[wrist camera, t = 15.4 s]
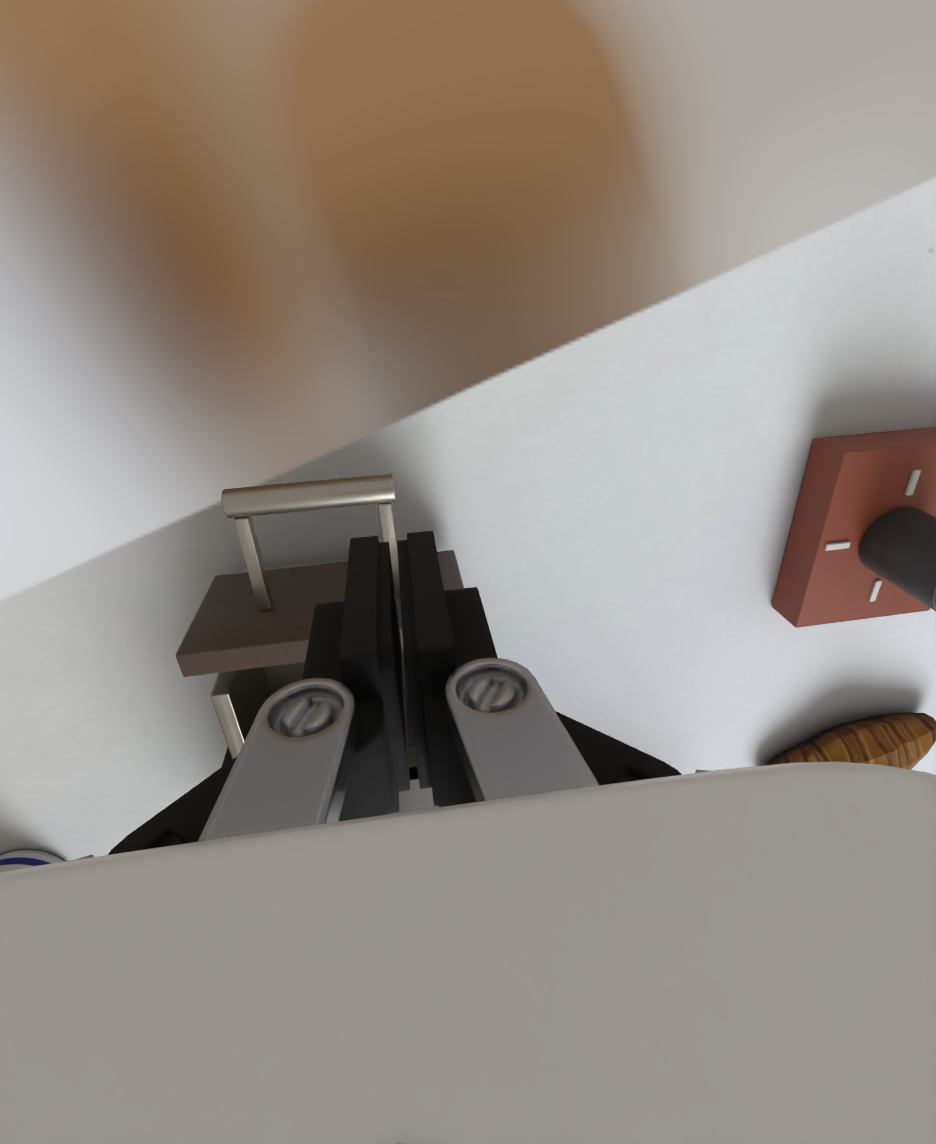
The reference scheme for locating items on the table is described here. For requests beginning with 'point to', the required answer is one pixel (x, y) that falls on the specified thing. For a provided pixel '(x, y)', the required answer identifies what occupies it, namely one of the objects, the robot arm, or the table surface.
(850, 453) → the control panel
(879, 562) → the knob
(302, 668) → the drawer front with handle
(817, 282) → the table surface
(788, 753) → the croissant
